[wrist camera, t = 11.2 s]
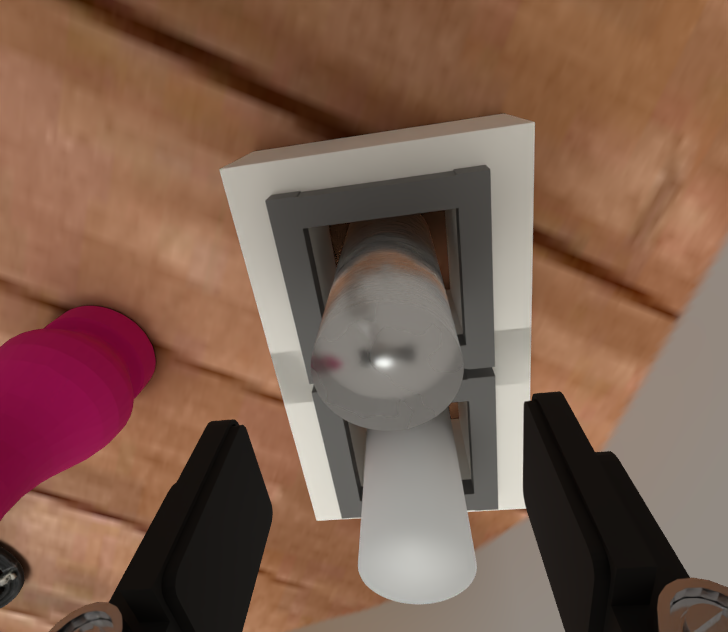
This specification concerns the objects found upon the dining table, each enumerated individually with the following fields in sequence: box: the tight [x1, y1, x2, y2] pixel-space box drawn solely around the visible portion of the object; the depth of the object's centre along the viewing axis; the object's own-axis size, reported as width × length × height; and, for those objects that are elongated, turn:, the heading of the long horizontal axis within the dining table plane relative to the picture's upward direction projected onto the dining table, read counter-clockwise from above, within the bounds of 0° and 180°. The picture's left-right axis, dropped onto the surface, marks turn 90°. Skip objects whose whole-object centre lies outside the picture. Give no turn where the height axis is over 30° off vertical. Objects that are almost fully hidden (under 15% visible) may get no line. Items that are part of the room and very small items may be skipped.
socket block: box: [219, 113, 535, 604], centre depth 21 cm, size 20×12×12 cm, turn 8°
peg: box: [311, 213, 464, 431], centre depth 19 cm, size 4×4×12 cm
